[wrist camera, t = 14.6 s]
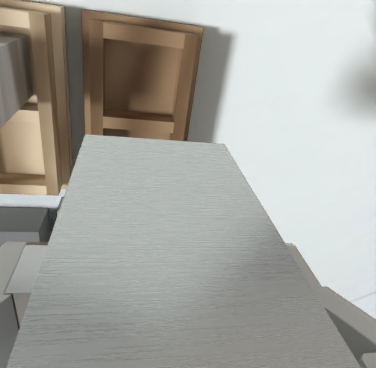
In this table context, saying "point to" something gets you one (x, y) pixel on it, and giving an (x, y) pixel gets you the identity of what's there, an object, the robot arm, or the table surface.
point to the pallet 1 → (34, 99)
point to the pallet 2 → (138, 75)
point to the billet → (170, 270)
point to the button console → (24, 225)
